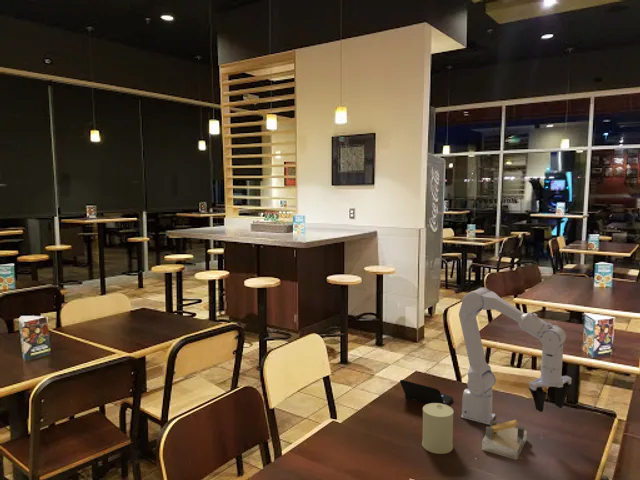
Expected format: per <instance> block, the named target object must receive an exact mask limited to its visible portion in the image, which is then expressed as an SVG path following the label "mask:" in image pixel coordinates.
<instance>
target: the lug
mask: <svg viewBox="0 0 640 480" xmlns="http://www.w3.org/2000/svg"><path fill="white" fill-rule="evenodd" d="M517 429H518V436H521V437H523V436H524V430H525V429H526V428H525V426H521V425H519V426H518V427H517Z"/></svg>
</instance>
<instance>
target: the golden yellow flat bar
mask: <svg viewBox="0 0 640 480" xmlns="http://www.w3.org/2000/svg"><path fill="white" fill-rule="evenodd" d="M517 425H518V421H517V419H513V420H509V421H506V422H501V423H498V424H497V425H493V426H491V428H493V432H497V431H501V430H505V429H509V428H513V427H514V428H516V427H517Z"/></svg>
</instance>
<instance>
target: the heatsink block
mask: <svg viewBox="0 0 640 480" xmlns="http://www.w3.org/2000/svg"><path fill="white" fill-rule="evenodd" d="M497 424H499V423H498V420H497V421H496V420H494V419H493V420H490V424H489V426H487V425H486V427H485V434H484V437H483V439H482V440H481V450H482V451H484V452H488V453H491V454H495V455H497V456H498V455H499V456H502V457H504V458H508V459H512V460H515V461H517V460H518V459H519V457H520V455H521V453H522V451H523V448H524V446H525V444H526V442H527V439H528V438H527V436H528V435H527V434H528V433H527V432H528V431H527V430H525V429H524V436H523V437H521V436H518V427H517V428H516V427H513V428H509V429H505V430H501V431H497V432H493V428H491V426H493V425H497Z"/></svg>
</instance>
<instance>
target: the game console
mask: <svg viewBox="0 0 640 480" xmlns="http://www.w3.org/2000/svg"><path fill="white" fill-rule="evenodd" d="M399 382H400V385H401V387H402V390H403V392H404V399H408V400H411V401H415V402H418V403H422V402H423V404H425V405H426V404H430V403H441V404H445V405H448V406H449V404H450V403H452V402H453V400H454V397H453V396H451V395H447V394H444V393H441V391H440V390H439V388H435V387H432V386H428V385H423V384H419V383H415V382H413V381H412V382H411V381H408V380H404V379H400V380H399Z"/></svg>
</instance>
